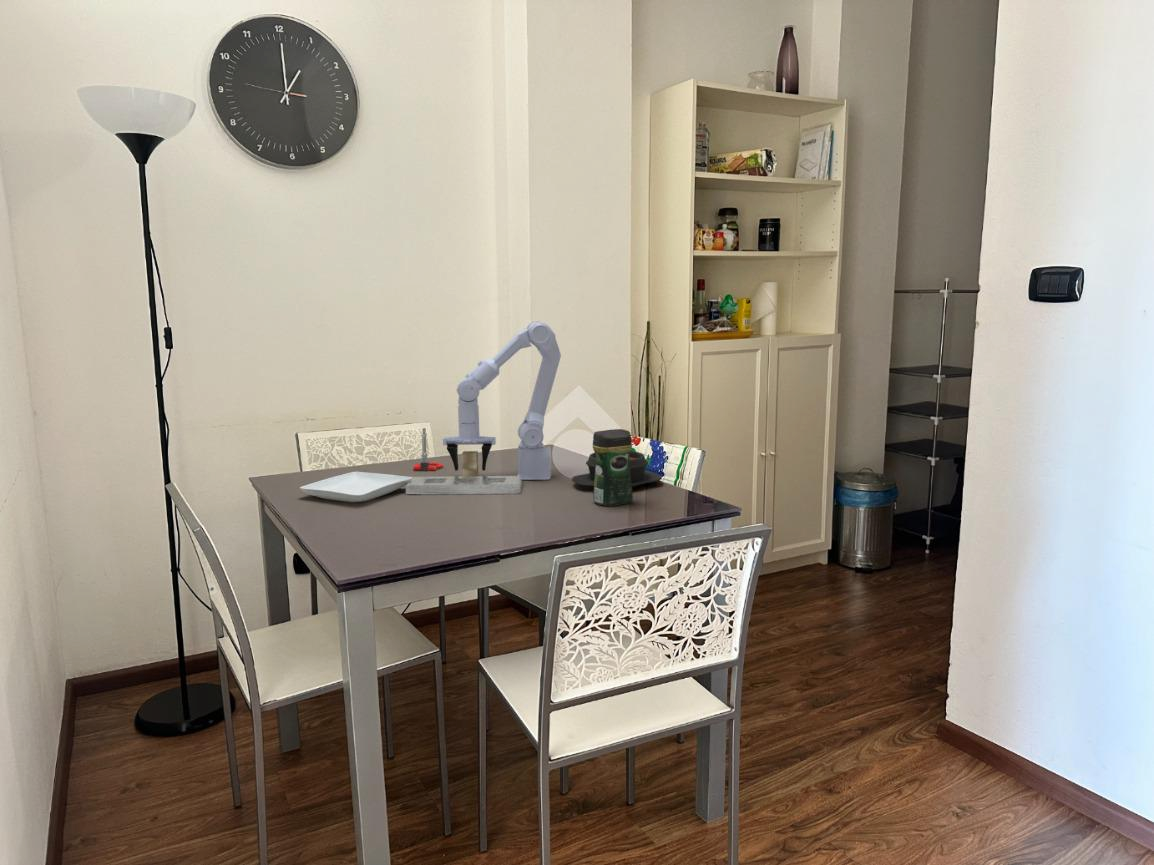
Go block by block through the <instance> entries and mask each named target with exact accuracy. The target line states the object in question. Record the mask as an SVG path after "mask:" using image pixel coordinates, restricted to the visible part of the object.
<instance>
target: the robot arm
mask: <svg viewBox="0 0 1154 865" xmlns="http://www.w3.org/2000/svg"><path fill="white" fill-rule="evenodd" d="M558 344H559V343H558V341H557V338H556V333H555V332H554V330H553V329H552V328H551V327H550V326H549V325H548V324H547V323H545V322H541V321H532V322H530V323H529V324H528V325H527V327H524V328H522V329H521V330H519V331H518V333H517V334H515V335H514V336H513V337H512V338H511V339H510V340H509V341H508V342H507V343H506V344H505V345H504V346H503V347H502V348H501V349H500V350H499V351H498V352H497V353H496V354H495V356H493V358H491V359H490V358H484V360H483V361H482V360H479V361H478V362H477V366H476V367H475V368H474V369H473V370H472V371H471V372H470V373H466V374H465V376H464V377H465V378H464V379H462V380H461V381H459V382H458V384H457V388H456V393H457V395H458V399H457V404H458V406H457V413H458V414H457V416H458V417H457V419H458V436H447V437H446V436H445V437H443V438H442V445H443V446H446V450H447V452H448V454H449V456H450V458H451V460H452V463H453V467H454V471H458V470H459V459H458V456H459V454H458V451H459V450H458V449H459V447H458V446H460V445H463V446H464V445H465V446H466V445H472V446H473V445H477V446H478V445H482V446H481V455H482V456H481V457H482V458H481V459H482V461H481V462H482V464H481V469H482V470H481V471H486V469H487V466H486V465H487V460H488V457H489V454H490V451H491V450H492V449H491V448H492V447H493V446H495V445H496V443H497V442H496V441H497V440H496V439H497V438H496V436H481V435H480V409H479V408H480V407H479V404H478V400H479V399H478V398H479V396H480V391H481V390H484V389H485V388H487V387H488V386H489V385H490V384H491V383H492V382H493V381H494V380H495V379H496V378H497V377H498V376H499V375H500V368H501V367H502V366H503V365H504V364H505V363H506V362H508V361H509V360H510V359H511V358H512V357H514V355H515V354H516V353H518V352H519V351H520V350H521V349H527V348H530V347H532V345H533V346H534V347H535V348H537V351H538V352H539V354H540V356H541V358H542V359H541V362H540V366H539V370H538V373H537V378H536V380H535V383H534V388H533V392H532V394H531V399H530V402H529V406H528V410H527V412H526V414H525V416H524V420H522V421H523V422H521V424H520V425H519V427H518V429H517V436H518V437H519V439H520V442H519V444H518V445H517V451H518V453H517V454H518V456H517V457H518V473H517V475H516V476H522V481H524V480H526V481H528V480H529V481H530V480H531V481H532V480H533V481H534V480H536V481H537V480H539V481H540V480H542V481H544V480H551V478H552V471H553V466H552V462H551V461H552V457H551V456H552V455H551V450H552V448H551V447H550V446H545V445H544V443H543V441H544V431H543V430H544V425H545V415H546V411H547V407H548V404H549V401H550V397H551V392H552V389H553V387H554V382H555V378H556V375H557V371H558V368H559V364H560V361H561V356H562V355H561V354H562V353H561V351H560V348H559V345H558Z"/></svg>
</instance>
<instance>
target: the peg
mask: <svg viewBox="0 0 1154 865" xmlns="http://www.w3.org/2000/svg"><path fill="white" fill-rule="evenodd" d="M478 452H479V451H478V450H474V451H473V450H469V451H468V450H467V451H465V450H464V451H463V452H462V453H461V469H462V470H461V472H462V475H461V476H480V475H479V454H478Z"/></svg>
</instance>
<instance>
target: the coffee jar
mask: <svg viewBox="0 0 1154 865" xmlns="http://www.w3.org/2000/svg"><path fill="white" fill-rule="evenodd" d="M592 439H593V440H592V450H593V453H595V458H596V466H595V480H594V486H593V492H592V494H593V498H592V499H593V501H594V503H595V504H597V505H598V506H601V505H602V506H605V507H612V506H613V505H615V506H621V505H620V504H622V505H626V504H630V503H632V501H633V500H634V499H633V498H634V495H633V488H632V484H631V475H630V462H629V460H630V451H632V447H633V443H632V435H631V432H630V431H629V430H626V429H623V428H616V429H615V428H614V429H605V430H597V431H594V432H593V436H592Z"/></svg>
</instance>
